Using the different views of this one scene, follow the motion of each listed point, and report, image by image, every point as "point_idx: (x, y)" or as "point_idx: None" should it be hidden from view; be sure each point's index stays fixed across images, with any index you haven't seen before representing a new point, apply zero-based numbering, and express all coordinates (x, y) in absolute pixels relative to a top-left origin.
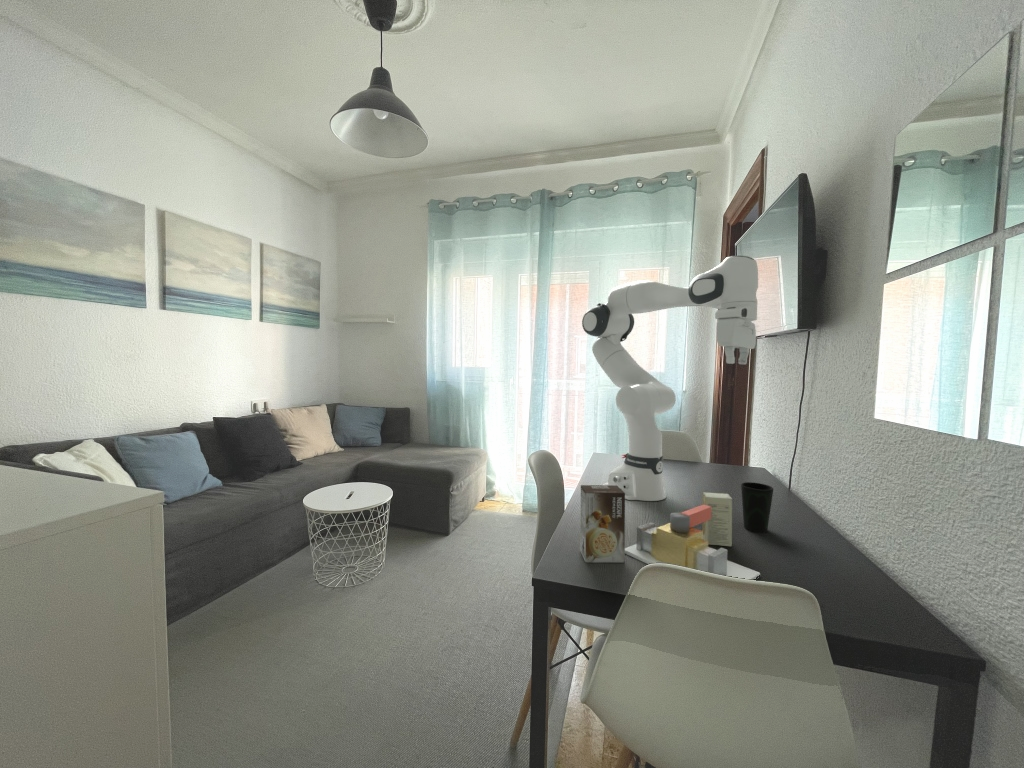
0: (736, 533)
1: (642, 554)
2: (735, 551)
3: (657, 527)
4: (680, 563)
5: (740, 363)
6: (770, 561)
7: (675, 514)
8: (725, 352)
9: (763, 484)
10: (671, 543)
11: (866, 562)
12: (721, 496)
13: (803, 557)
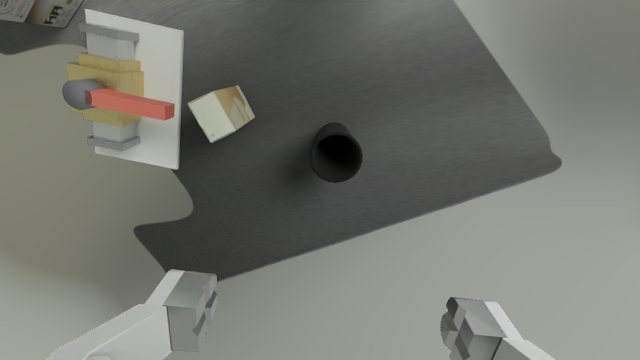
0: (293, 120)
1: None
2: None
3: (68, 63)
4: None
5: (449, 308)
6: (229, 170)
7: (75, 87)
8: (85, 338)
9: (358, 164)
10: None
11: (308, 245)
12: (208, 126)
13: (272, 196)
